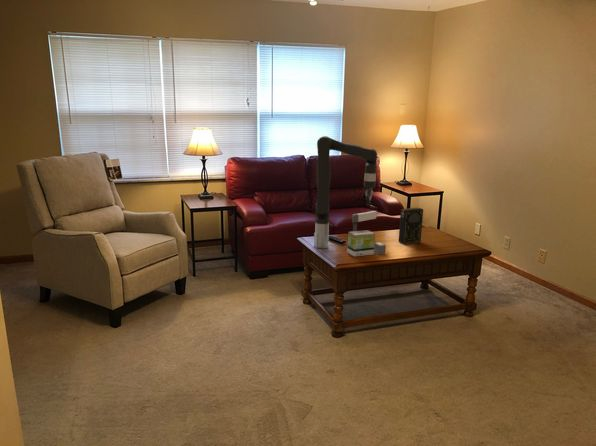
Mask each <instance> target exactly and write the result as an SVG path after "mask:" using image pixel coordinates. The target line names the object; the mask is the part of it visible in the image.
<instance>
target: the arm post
mask: <svg viewBox="0 0 596 446" xmlns="http://www.w3.org/2000/svg"><path fill="white" fill-rule="evenodd" d="M357 229H358V222H357V223H354V222H352V231H358V230H357Z"/></svg>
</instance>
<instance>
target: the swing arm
mask: <svg viewBox="0 0 596 446" xmlns="http://www.w3.org/2000/svg"><path fill="white" fill-rule="evenodd" d="M375 219H377V210H372V211H366V212H361V213H353V214H352V219H351V222H352V223H353V222H354V223H357V224H358V223H359V222H363V221H364V222H365V221H369V220H375Z"/></svg>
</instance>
